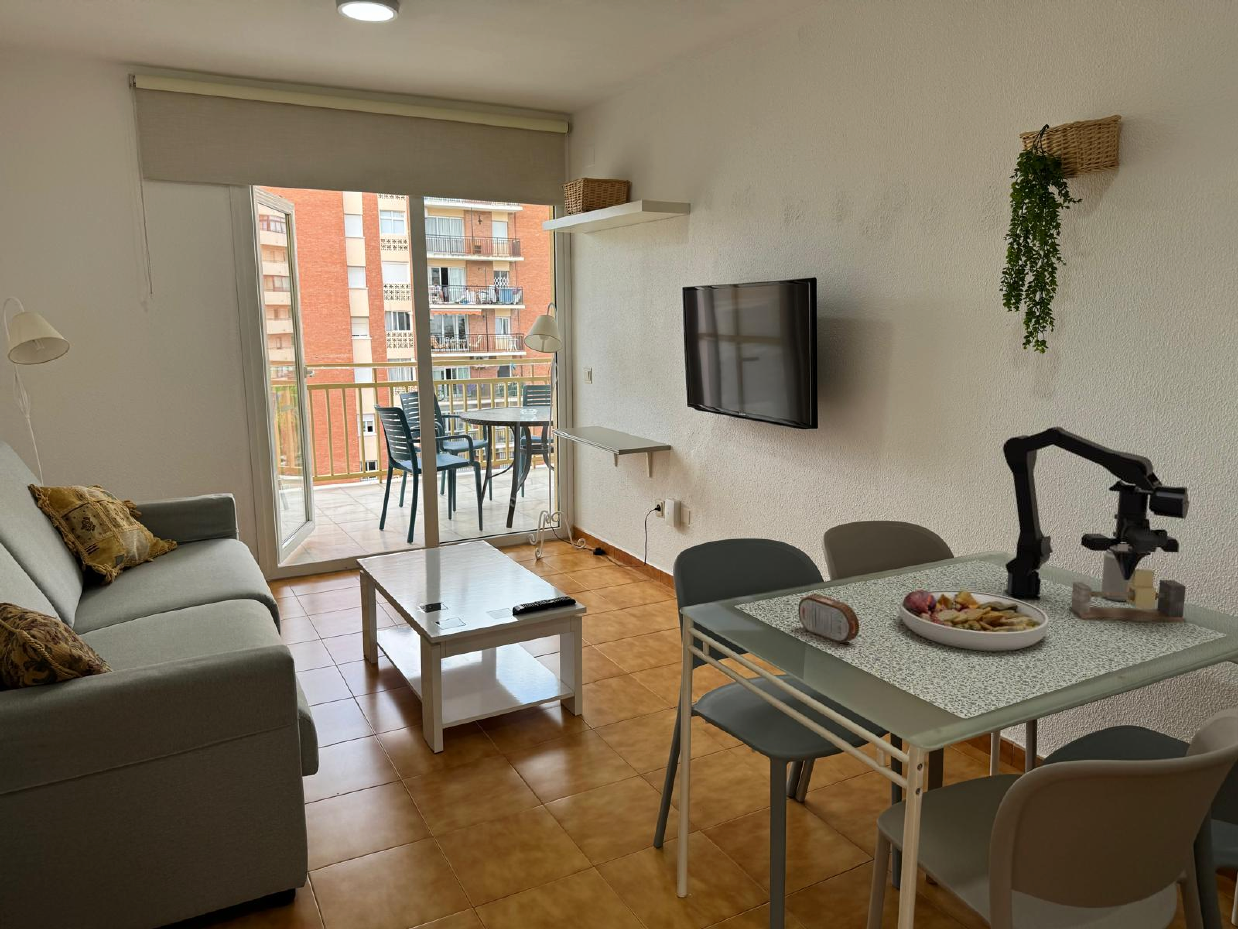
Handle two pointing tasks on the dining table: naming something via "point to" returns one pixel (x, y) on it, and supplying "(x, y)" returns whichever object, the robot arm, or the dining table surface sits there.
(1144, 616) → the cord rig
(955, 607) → the bowl
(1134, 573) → the marker sleeve
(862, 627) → the dining table surface
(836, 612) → the tin
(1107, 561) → the beverage can
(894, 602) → the dining table surface
